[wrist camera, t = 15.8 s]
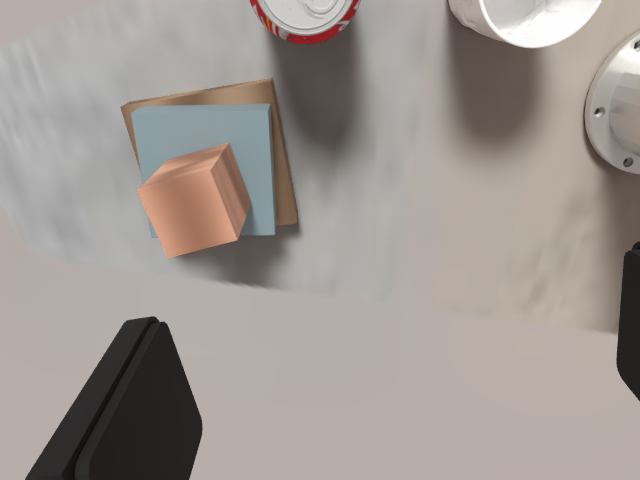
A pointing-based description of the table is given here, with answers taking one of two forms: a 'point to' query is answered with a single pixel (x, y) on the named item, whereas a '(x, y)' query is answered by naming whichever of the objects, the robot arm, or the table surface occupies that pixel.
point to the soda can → (305, 18)
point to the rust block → (196, 200)
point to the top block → (208, 131)
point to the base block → (237, 95)
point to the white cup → (525, 19)
